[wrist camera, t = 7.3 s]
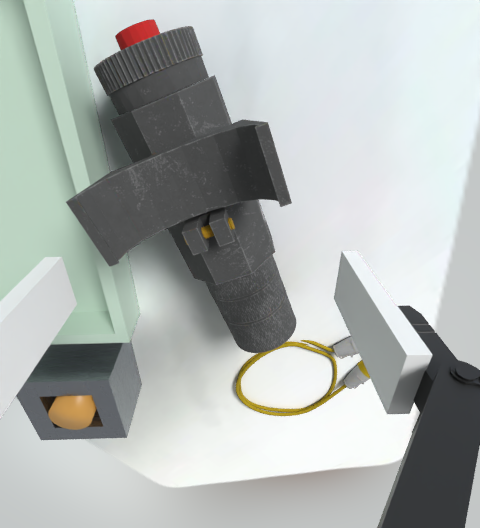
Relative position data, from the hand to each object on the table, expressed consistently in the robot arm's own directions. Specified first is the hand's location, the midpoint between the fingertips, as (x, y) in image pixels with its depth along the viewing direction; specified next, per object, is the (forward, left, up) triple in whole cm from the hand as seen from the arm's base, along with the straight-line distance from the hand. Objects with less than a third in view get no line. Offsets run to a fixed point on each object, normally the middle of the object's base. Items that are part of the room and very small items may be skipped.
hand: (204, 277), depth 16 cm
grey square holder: (+17, -13, -11) cm, 24 cm away
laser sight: (0, 0, -12) cm, 12 cm away
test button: (+17, -13, -10) cm, 24 cm away
